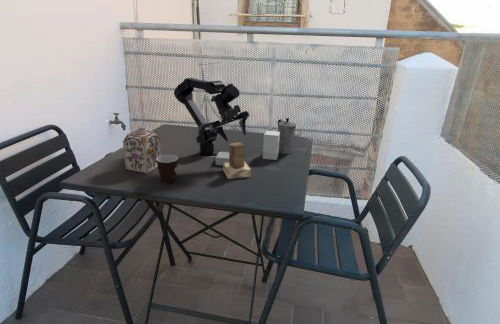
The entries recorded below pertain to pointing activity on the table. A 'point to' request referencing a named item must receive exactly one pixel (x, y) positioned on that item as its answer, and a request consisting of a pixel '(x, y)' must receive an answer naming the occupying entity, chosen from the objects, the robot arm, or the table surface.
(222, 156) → the slate block
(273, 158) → the supplement box
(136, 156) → the decorative jar
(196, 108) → the robot arm
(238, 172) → the beech block
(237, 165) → the walnut block
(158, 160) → the coffee mug
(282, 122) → the coffeepot
